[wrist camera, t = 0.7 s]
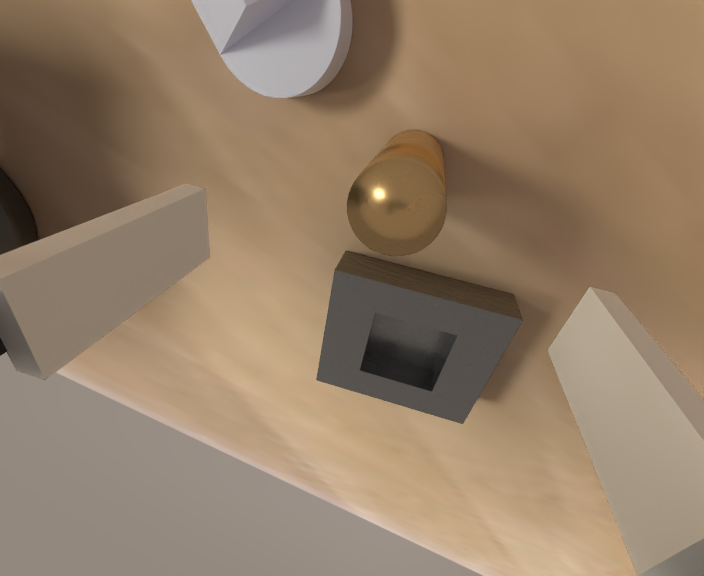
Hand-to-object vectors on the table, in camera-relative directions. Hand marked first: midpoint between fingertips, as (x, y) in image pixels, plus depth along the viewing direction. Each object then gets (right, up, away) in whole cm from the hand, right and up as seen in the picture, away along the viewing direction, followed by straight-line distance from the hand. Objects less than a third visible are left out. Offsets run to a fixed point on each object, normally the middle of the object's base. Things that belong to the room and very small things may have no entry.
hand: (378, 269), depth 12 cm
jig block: (+5, -5, +24) cm, 25 cm away
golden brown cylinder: (+4, +9, +15) cm, 18 cm away
